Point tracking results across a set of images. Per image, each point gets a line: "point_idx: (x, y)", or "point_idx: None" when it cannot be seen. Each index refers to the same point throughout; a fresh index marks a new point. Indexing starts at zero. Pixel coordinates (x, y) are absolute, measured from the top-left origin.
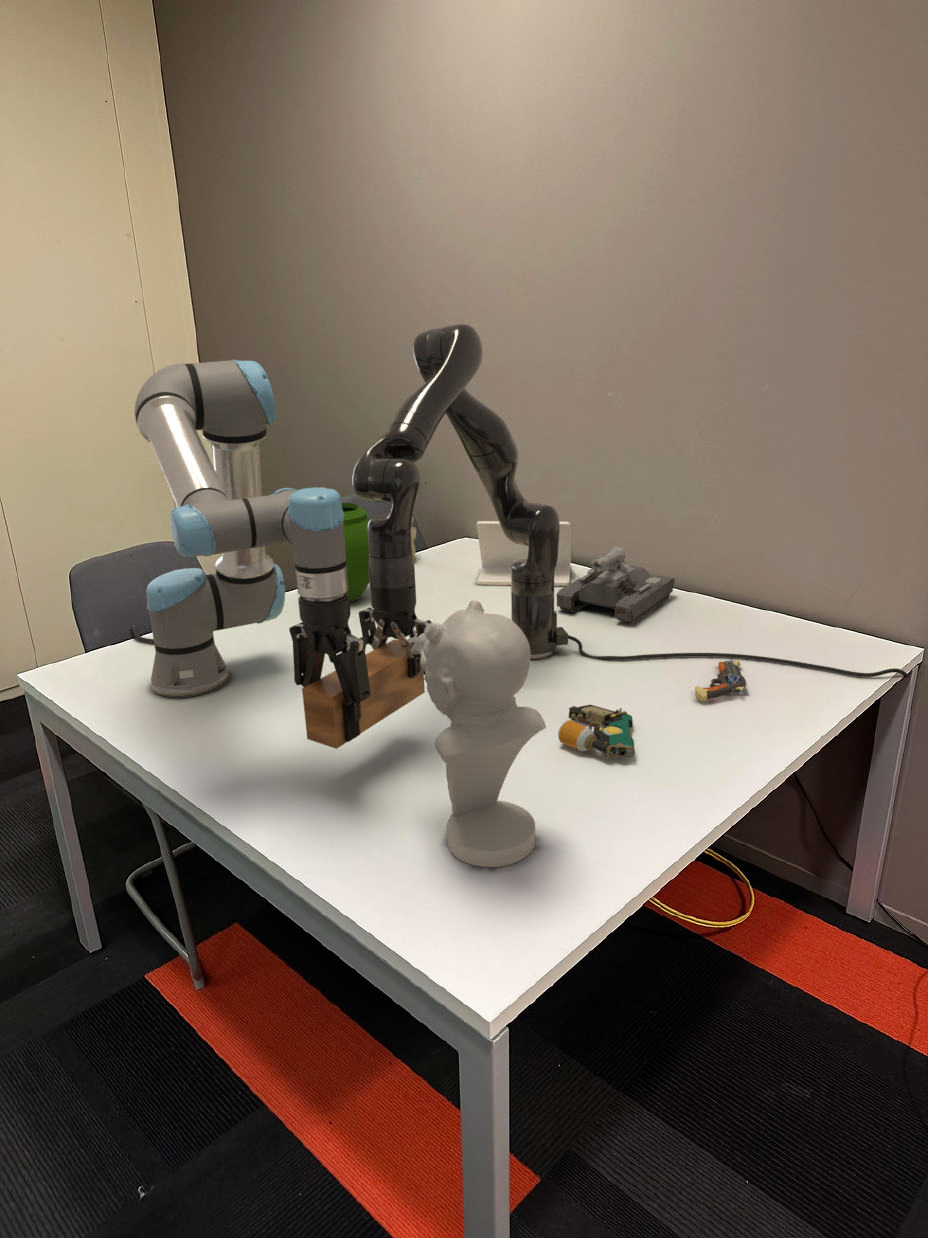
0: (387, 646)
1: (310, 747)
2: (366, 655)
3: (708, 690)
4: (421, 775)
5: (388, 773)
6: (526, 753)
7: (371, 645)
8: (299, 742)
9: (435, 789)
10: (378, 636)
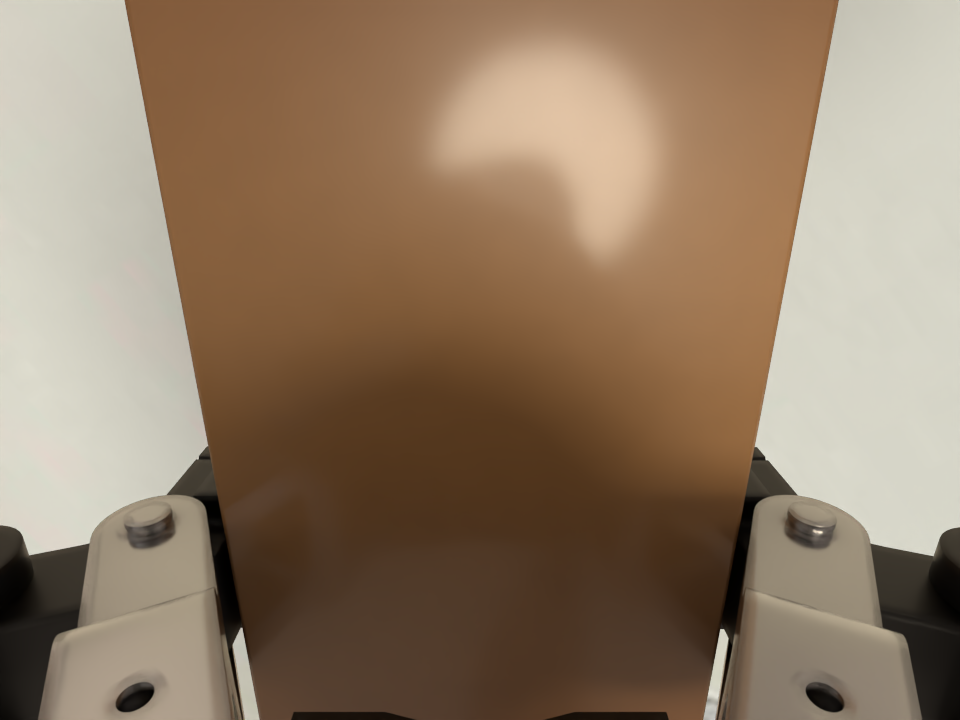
0: (641, 608)
1: (860, 4)
2: (756, 215)
3: None
4: None
5: None
6: (27, 448)
7: (879, 549)
8: (943, 15)
9: (86, 10)
10: (781, 658)
